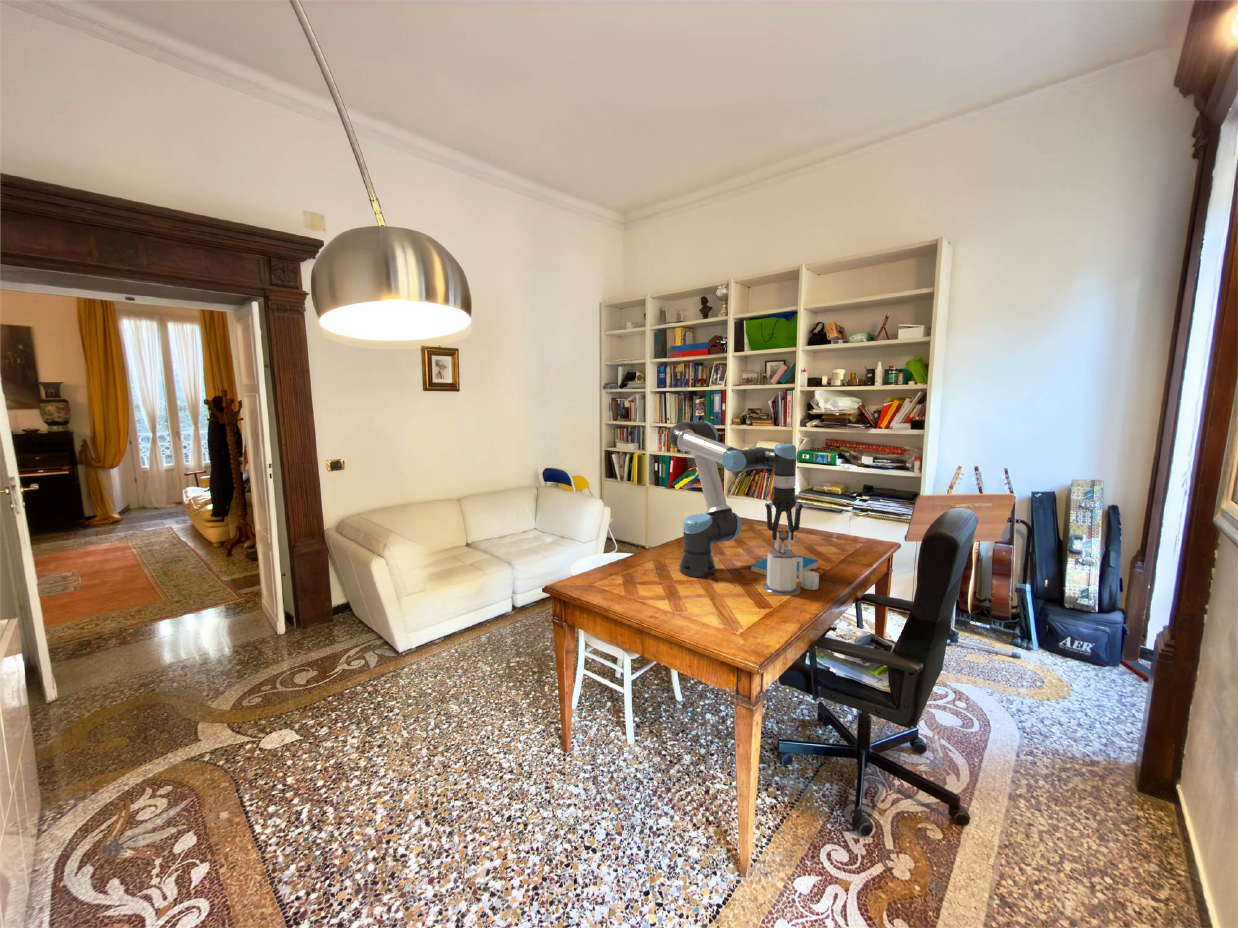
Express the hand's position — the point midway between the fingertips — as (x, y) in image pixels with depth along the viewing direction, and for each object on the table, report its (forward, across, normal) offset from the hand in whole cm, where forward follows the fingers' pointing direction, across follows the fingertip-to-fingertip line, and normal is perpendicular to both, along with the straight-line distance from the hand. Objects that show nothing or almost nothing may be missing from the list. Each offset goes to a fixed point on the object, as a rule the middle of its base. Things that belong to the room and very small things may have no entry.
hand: (782, 548), depth 179 cm
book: (+17, +7, +21) cm, 28 cm away
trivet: (+16, 0, 0) cm, 16 cm away
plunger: (+9, 0, 0) cm, 9 cm away
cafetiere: (+15, +1, 0) cm, 15 cm away
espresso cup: (+16, +11, +1) cm, 20 cm away
